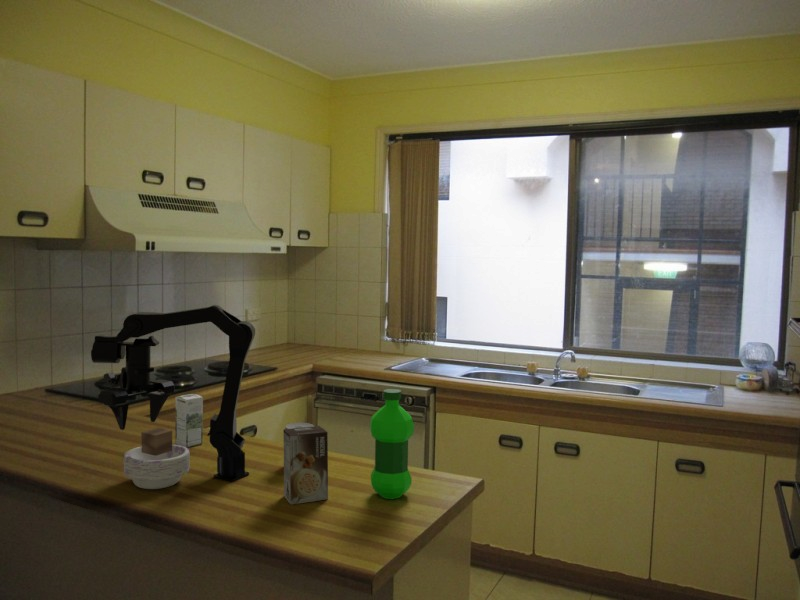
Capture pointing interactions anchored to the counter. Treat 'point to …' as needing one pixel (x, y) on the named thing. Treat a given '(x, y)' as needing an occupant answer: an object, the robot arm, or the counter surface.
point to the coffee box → (305, 464)
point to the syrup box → (188, 420)
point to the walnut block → (156, 441)
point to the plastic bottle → (391, 447)
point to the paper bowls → (156, 467)
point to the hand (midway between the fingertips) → (137, 425)
